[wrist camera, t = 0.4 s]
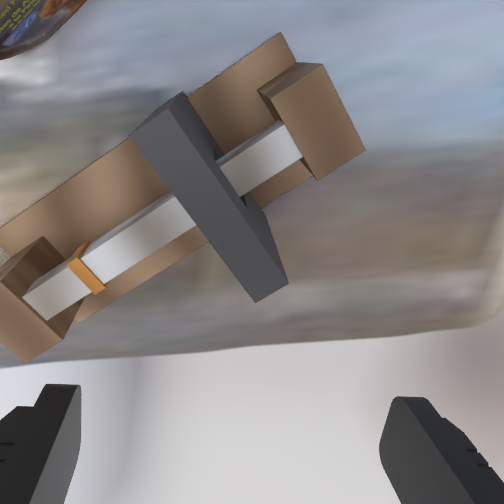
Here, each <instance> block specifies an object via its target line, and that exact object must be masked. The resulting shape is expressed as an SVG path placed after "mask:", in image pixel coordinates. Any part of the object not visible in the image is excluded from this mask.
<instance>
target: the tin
mask: <svg viewBox="0 0 504 504" xmlns="http://www.w3.org/2000/svg"><path fill="white" fill-rule="evenodd" d="M86 1H87V0H0V60H3V59H7V58H11V57H13V56H15V55H18V54H20V53H23V52H25V51H27V50H29V49H31V48H33V47H34V46H36V45H38V44H39V43H41V42H42V41H44V40H45V39H47V38H48V37H49V36H51V35H52V34H53V33H54V32H55V31H57V30H58V29H59V28H60V27H61V26H62V25H63V24H64V23H65V22H66V21H67V20H68V19H69V18H70V17H71V16H72V15H73V14H74V13H75V12H76V11H77V10H78V9H79V8H80V7H81V6H82V5H83V4H84V3H85V2H86Z"/></svg>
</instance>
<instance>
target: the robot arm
mask: <svg viewBox="0 0 504 504" xmlns="http://www.w3.org/2000/svg"><path fill="white" fill-rule="evenodd" d="M80 442H81V386H80V385H67V384H46V385H45V386H44V388H43V389H42V392H41V393H40V395H39V397H38V399H37V401H36V403H35V405H34V407H26V406H17V407H16V408H15V409H13V410H12V411H11V412H10V413H8V414H7V415H6V416H5V417H4V418H2V419H1V420H0V504H64V501H65V497H66V495H67V491H68V488H69V485H70V482H71V479H72V476H73V473H74V470H75V466H76V463H77V460H78V455H79V450H80ZM379 452H380V459H381V462H382V465H383V468H384V470H385V472H386V474H387V476H388V478H389V480H390V482H391V484H392V486H393V488H394V490H395V492H396V494H397V496H398V498H399V500H400V502H401V504H504V483H503V481H502V480H501V479H500V478H499V476H498V475H497V474H496V473H495V471H494V470H493V469H492V467H489V466H488V462H487V461H486V460H485V459H484V457H483V456H482V455H481V454H480V453H478V452H477V449H476V447H475V446H474V445H473V444H472V442H471V441H470V440H469V439H468V437H467V436H466V435H465V433H464V432H462V431H461V430H460V429H459V428H457V427H456V426H455V425H454V424H452V423H451V422H449V421H448V420H447V419H446V418H441V416H440V415H439V414H438V412H437V411H436V410H435V408H434V407H433V406H432V404H431V403H430V402H429V401H428V400H427V399H426V398H424V397H399V396H398V397H395V398H394V399H393V401H392V403H391V407H390V410H389V413H388V416H387V420H386V423H385V426H384V430H383V433H382V436H381V439H380V445H379Z"/></svg>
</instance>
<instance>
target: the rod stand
mask: <svg viewBox="0 0 504 504" xmlns="http://www.w3.org/2000/svg"><path fill="white" fill-rule="evenodd" d="M187 98H188V100H189V102H190V103H191V105H192V106H193V108H194V109H195V111H196V112H197V114H198V115H199V117H200V118H201V120H202V121H203V123H204V124H205V126H206V127H207V129H208V130H209V132H210V133H211V135H212V136H213V138H214V139H215V141H216V142H217V144H218V145H219V147H220V148H221V150H222V151H223V153H224V154H225V155H224V156H223V157H221V158H219V159H218V160H216V163H217V164H218V166H219V167H220V169H221V170H222V172H223V173H224V175H225V176H226V178H227V179H228V181H229V182H230V184H231V185H232V186H233V188H234V189H235V191H236V192H237V194H238V195H239V197H241V196H242V195H244V194H245V193H247V192H248V191H249V192H250V193H251V195H252V196H253V198H254V199H255V201H256V202H257V204H258V205H259V207H260V208H262V207H264V206H266V205H267V204H269V203H270V202H272V201H274V200H275V199H277V198H278V197H280V196H282V195H283V194H285V193H286V192H288V191H289V190H291V189H293V188H294V187H296V186H297V185H299V184H301V183H302V182H304V181H305V180H307V179H309V178H310V177H312V176H314V177H315V178H316V180H317V181H318V180H319V179H321V178H323V177H324V176H326V175H327V174H329V173H331V172H332V171H334V170H335V169H337V168H339V167H340V166H342V165H343V164H345V163H347V162H348V161H350V160H351V159H353V158H355V157H356V156H358V155H359V154H361V153H363V152H364V151H366V149H365V147H364V145H363V143H362V141H361V139H360V137H359V135H358V133H357V131H356V129H355V127H354V125H353V123H352V121H351V119H350V117H349V115H348V113H347V111H346V109H345V107H344V105H343V103H342V101H341V99H340V98H339V96H338V94H337V92H336V90H335V88H334V86H333V84H332V82H331V80H330V78H329V76H328V74H327V72H326V70H325V68H324V66H323V64H317V63H300V62H296V60H295V58H294V56H293V54H292V52H291V50H290V49H289V47H288V45H287V43H286V41H285V39H284V37H283V35H282V33H281V32H280V33H278V34H276V35H275V36H274V37H272V38H271V39H269V40H268V41H266V42H265V43H264V44H262V45H261V46H259V47H258V48H256V49H255V50H254V51H252V52H251V53H249V54H248V55H246V56H245V57H244V58H242V59H241V60H239V61H238V62H236V63H235V64H234V65H232V66H231V67H229V68H228V69H226V70H225V71H224V72H222V73H221V74H219V75H218V76H216V77H215V78H214V79H212V80H211V81H209V82H208V83H206V84H205V85H204V86H202V87H201V88H199V89H198V90H196V91H195V92H194V93H192V94H191V95H189V96H188V97H187ZM207 242H208V240H207V238H206V237H205V236H204V234H203V233H202V232H201V230H200V229H199V228H198V226H197V225H196V224H195V222H194V221H193V220H192V218H191V217H190V216H189V214H188V213H187V212H186V211H185V209H184V208H183V207H182V205H181V204H180V203H179V201H178V200H177V199H176V197H175V196H174V195H173V193H172V192H171V191H170V189H169V188H168V187H167V185H166V184H165V183H164V181H163V180H162V179H161V177H160V176H159V175H158V173H157V172H156V171H155V169H154V168H153V167H152V165H151V164H150V163H149V161H148V160H147V159H146V158H145V156H144V155H143V154H142V152H141V151H140V150H139V148H138V147H137V146H136V144H135V143H134V142H133V140H132V139H131V138H130V137H129V138H128V139H127V140H125V141H124V142H122V143H121V144H119V145H118V146H117V147H115V148H114V149H112V150H111V151H109V152H108V153H107V154H105V155H104V156H102V157H101V158H99V159H98V160H97V161H95V162H94V163H92V164H91V165H89V166H88V167H87V168H85V169H84V170H82V171H81V172H79V173H78V174H77V175H75V176H74V177H72V178H71V179H69V180H68V181H67V182H65V183H64V184H62V185H61V186H59V187H58V188H57V189H55V190H54V191H52V192H51V193H49V194H48V195H47V196H45V197H44V198H42V199H41V200H39V201H38V202H37V203H35V204H34V205H32V206H31V207H29V208H28V209H27V210H25V211H24V212H22V213H21V214H19V215H18V216H17V217H15V218H14V219H12V220H11V221H9V222H8V223H7V224H5V225H4V226H2V227H1V228H0V247H1V248H2V249H4V250H5V251H6V252H7V253H8V254H9V255H10V256H11V258H10V259H9V260H8V261H7V262H6V263H5V264H4V265H3V266H2V267H1V268H0V342H1V343H2V344H4V345H5V346H6V347H7V348H8V349H9V350H10V351H12V352H13V353H14V354H15V355H16V356H17V357H19V358H20V359H21V360H22V361H23V362H24V363H27V362H29V361H30V360H32V359H33V358H35V357H37V356H38V355H40V354H41V353H43V352H45V351H46V350H48V349H49V348H51V347H53V346H54V345H56V344H57V343H59V342H61V341H62V340H63V339H64V337H65V335H66V333H67V331H68V329H69V327H70V325H71V323H72V321H73V320H74V319H75V320H76V321H77V322H78V323H80V322H81V321H83V320H85V319H86V318H88V317H89V316H91V315H92V314H94V313H96V312H97V311H99V310H100V309H102V308H104V307H105V306H107V305H108V304H110V303H112V302H113V301H115V300H116V299H118V298H119V297H121V296H123V295H124V294H126V293H127V292H129V291H131V290H132V289H134V288H135V287H137V286H139V285H140V284H142V283H143V282H145V281H146V280H148V279H150V278H151V277H153V276H154V275H156V274H158V273H159V272H161V271H162V270H164V269H166V268H167V267H169V266H170V265H172V264H173V263H175V262H177V261H178V260H180V259H181V258H183V257H185V256H186V255H188V254H189V253H191V252H193V251H194V250H196V249H197V248H199V247H201V246H202V245H204V244H205V243H207Z"/></svg>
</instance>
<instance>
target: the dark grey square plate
mask: <svg viewBox="0 0 504 504" xmlns="http://www.w3.org/2000/svg"><path fill="white" fill-rule="evenodd" d="M129 136H130V138H131V139H132V140H133V142H134V143H135V144H136V146H137V147H138V148H139V150H140V151H141V152H142V154H143V155H144V156H145V158H146V159H147V160H148V161H149V163H150V164H151V165H152V167H153V168H154V169H155V171H156V172H157V173H158V175H159V176H160V177H161V179H162V180H163V181H164V183H165V184H166V185H167V187H168V188H169V189H170V191H171V192H172V193H173V195H174V196H175V197H176V199H177V200H178V201H179V203H180V204H181V205H182V207H183V208H184V209H185V211H186V212H187V213H188V214H189V216H190V217H191V218H192V220H193V221H194V222H195V224H196V225H197V226H198V228H199V229H200V230H201V232H202V233H203V234H204V236H205V237H206V238H207V240H208V241H209V242H210V244H211V245H212V246H213V248H214V249H215V250H216V252H217V253H218V254H219V256H220V257H221V258H222V260H223V261H224V262H225V263H226V265H227V266H228V267H229V269H230V270H231V271H232V273H233V274H234V275H235V277H236V278H237V279H238V281H239V282H240V283H241V285H242V286H243V287H244V289H245V290H246V291H247V293H248V294H249V295H250V297H251V298H252V299H253V301H254V302H255V303H257V302H258V301H260V300H262V299H263V298H265V297H267V296H268V295H270V294H272V293H273V292H275V291H277V290H279V289H280V288H282V287H284V286H285V285H287V284H289V282H288V280H287V277H286V274H285V271H284V268H283V265H282V262H281V259H280V256H279V254H278V251H277V248H276V245H275V242H274V239H273V236H272V233H271V230H270V228H269V225H268V222H267V219H266V216H265V215H264V213H263V212H262V210H261V208H260V207H259V205H258V204H257V202H256V201H255V199H254V198H253V196H252V195H251V193H250V192H249V191H248V192H247V193H245V194H244V195H242V196H241V197H239V195H238V194H237V192H236V191H235V189H234V188H233V186H232V185H231V184H230V182H229V181H228V179H227V178H226V176H225V175H224V173H223V172H222V170H221V169H220V167H219V166H218V164H217V163H216V160H218V159H219V158H221V157H223V156H224V155H225V154H224V153H223V151H222V150H221V148H220V147H219V145H218V144H217V142H216V141H215V139H214V138H213V136H212V135H211V133H210V132H209V130H208V129H207V127H206V126H205V124H204V123H203V121H202V120H201V118H200V117H199V115H198V114H197V112H196V111H195V109H194V108H193V106H192V105H191V103H190V102H189V100H188V98H187V97H186V95H185V94H184V92H183V91H182V92H180V93H179V94H178V95H176V96H175V97H173V98H172V99H170V100H169V101H168V102H166V103H165V104H163V105H162V106H160V107H159V108H158V109H156V110H155V111H154V112H153V113H152V114H151V115H150V116H149V117H148V118H147V119H146V120H145V121H144V122H143V123H142V124H141V125H140V126H139V127H138V128H137V129H135V130H134V131H133V132H132V133H131V134H130V135H129Z"/></svg>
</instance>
